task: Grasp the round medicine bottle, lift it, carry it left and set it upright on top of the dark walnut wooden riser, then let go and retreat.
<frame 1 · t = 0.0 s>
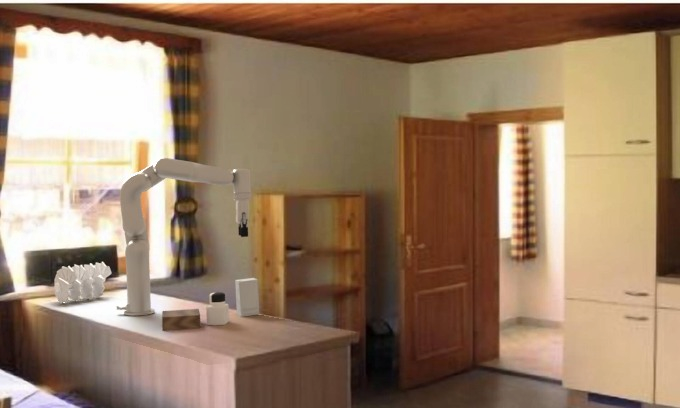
hand: (243, 235, 320), 31 cm above the countertop, tool pointing down, fingers open, 9 cm apart
walnut riser: (181, 325, 282), on the countertop
skincare box: (247, 315, 302), on the countertop
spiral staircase: (81, 300, 350), on the countertop
medicine bottle: (218, 323, 285), on the countertop
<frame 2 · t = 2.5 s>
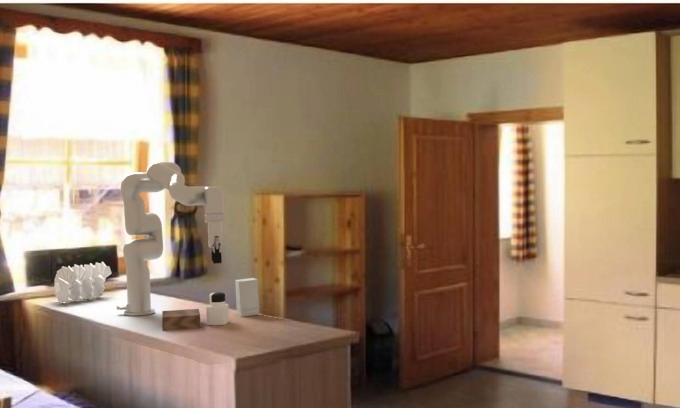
hand: (216, 262, 284), 24 cm above the countertop, tool pointing down, fingers open, 9 cm apart
nothing on the countertop moved.
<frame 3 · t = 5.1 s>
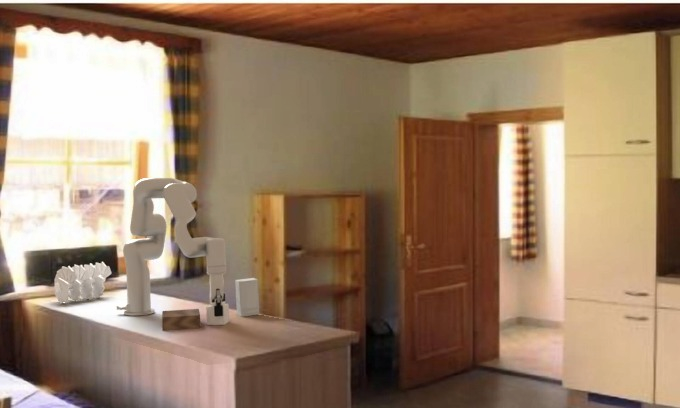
hand: (217, 314, 285), 4 cm above the countertop, tool pointing down, fingers closed on medicine bottle, 8 cm apart
medicine bottle: (218, 323, 285), on the countertop, touching gripper
everything else where it was.
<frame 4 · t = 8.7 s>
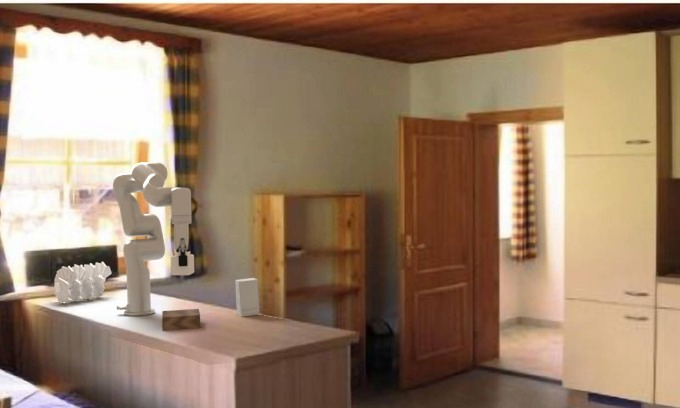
hand: (182, 264, 282), 24 cm above the countertop, tool pointing down, fingers closed on medicine bottle, 8 cm apart
medicine bottle: (182, 274, 282), point 20 cm above the countertop, touching gripper
everything else where it was.
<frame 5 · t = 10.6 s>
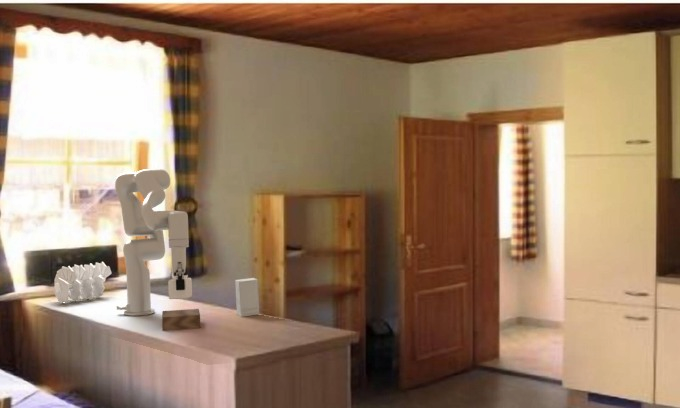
hand: (180, 288, 281), 15 cm above the countertop, tool pointing down, fingers closed on medicine bottle, 8 cm apart
medicine bottle: (180, 298, 281), point 11 cm above the countertop, touching gripper
everything else where it was.
when the fingers open (10 cm above the countertop, at t = 12.2 s): medicine bottle drops 1 cm, resting on walnut riser.
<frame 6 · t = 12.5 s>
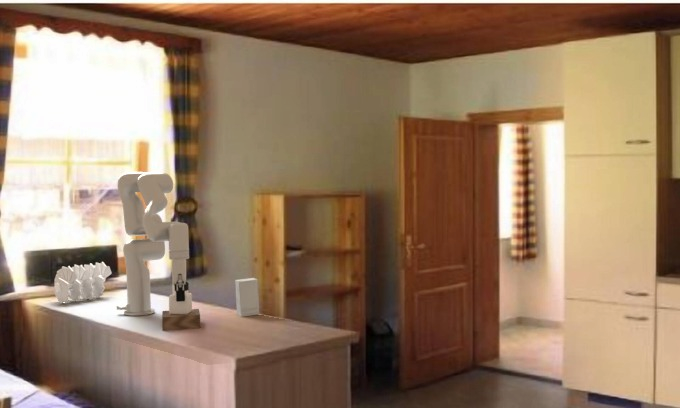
hand: (180, 299, 281), 10 cm above the countertop, tool pointing down, fingers open, 9 cm apart
medicine bottle: (180, 313, 282), point 5 cm above the countertop, touching walnut riser
everything else where it was.
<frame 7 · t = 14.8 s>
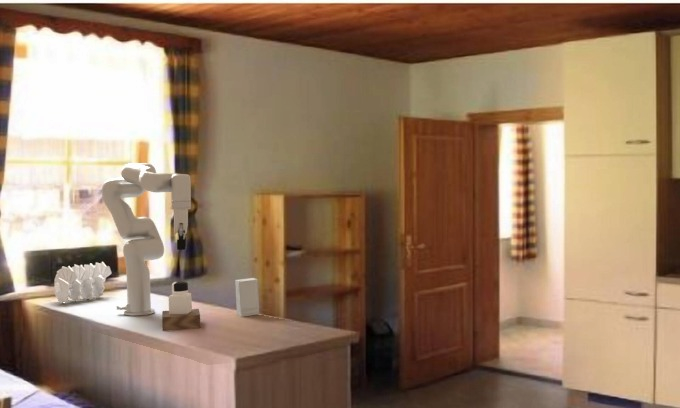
hand: (181, 248, 291), 29 cm above the countertop, tool pointing down, fingers open, 9 cm apart
nothing on the countertop moved.
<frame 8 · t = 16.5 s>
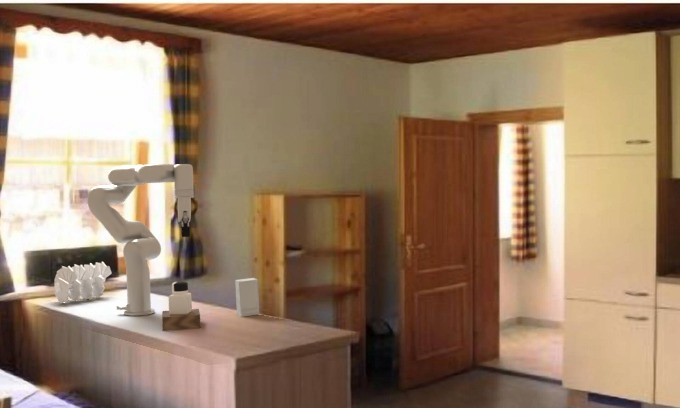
hand: (185, 235, 300), 33 cm above the countertop, tool pointing down, fingers open, 9 cm apart
nothing on the countertop moved.
at the end: medicine bottle inside the target area on the walnut riser (0.2 cm from its centre), point 4.8 cm above the walnut riser's base; medicine bottle tilted 0°; the gripper is holding nothing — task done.
